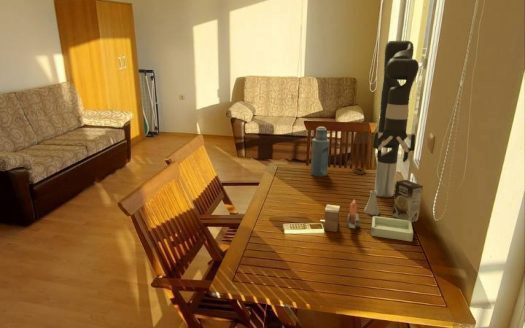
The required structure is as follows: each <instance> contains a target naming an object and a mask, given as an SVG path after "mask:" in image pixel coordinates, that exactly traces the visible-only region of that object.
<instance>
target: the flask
mask: <svg viewBox="0 0 525 328" xmlns="http://www.w3.org/2000/svg"><path fill="white" fill-rule="evenodd" d="M369 193H370V194H369V199H368V201H367V203H366V205H365V207H364V209H363V212H364V213H365V214H366V215H369V216H370V215H371V216H379V215H380V213H381V211H380V207H379V204H378V199H377V195H376V194H377V191H374V190H370V191H369Z"/></svg>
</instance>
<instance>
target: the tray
mask: <svg viewBox="0 0 525 328" xmlns="http://www.w3.org/2000/svg"><path fill="white" fill-rule="evenodd" d="M371 220H372V221H371V232H370V236H372V237H379V238H385V239H392V240H399V241H400V240H401V241H407V242H413V238H414V230H413V225H412V222H411V221H408V220H400V219H398V218H393V217H392V218H391V217H384V216H378V215H372V218H371Z"/></svg>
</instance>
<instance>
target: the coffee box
mask: <svg viewBox="0 0 525 328" xmlns="http://www.w3.org/2000/svg"><path fill="white" fill-rule="evenodd" d="M423 188H424V186H423V185H421V184H418V183H417V182H413V181H410V180H408V179H402V180H396V181H395V188H394V199H393V206H392V215H391V216H392V217H394V218H395V219H400V220H408V221H411V223H414V221H415V222H418V221H417V220H419V213H420V208H421V203H422V202H421V199H422V195H423Z"/></svg>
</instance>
